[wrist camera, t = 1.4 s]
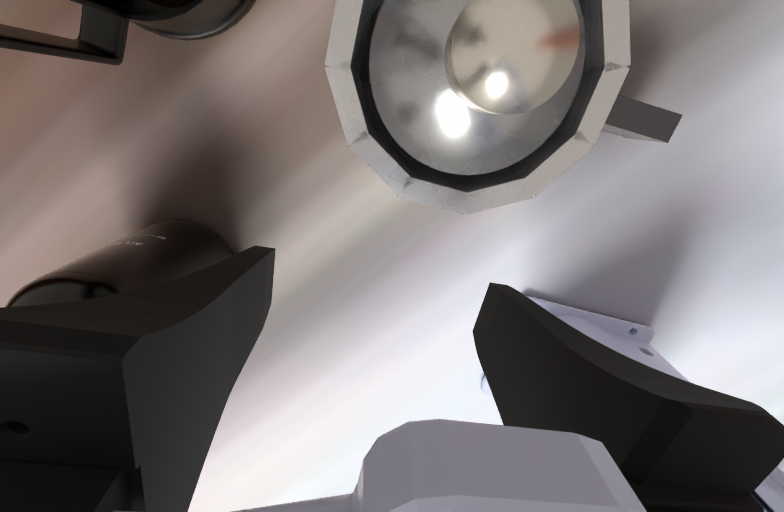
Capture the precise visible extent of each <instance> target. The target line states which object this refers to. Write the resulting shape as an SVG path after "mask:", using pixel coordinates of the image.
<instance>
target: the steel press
mask: <svg viewBox="0 0 784 512" xmlns="http://www.w3.org/2000/svg"><path fill="white" fill-rule="evenodd" d="M384 1H385V0H336V4H335V10H334V16H333V21H332V27H331V32H330V38H329V44H328V49H327V55H326V60H325V65H326V66H328V67H326V68H325V70H326V73H327V77H328V80H329V83H330V87H331V90H332V93H333V97H334V100H335V103H336V107H337V110H338V113H339V117H340V120H341V124H342V127H343V130H344V134H345V137H346V140H347V144H351V143H352V144H351V145H350V146H349V147H350V148H351V149H352V150H353V151H354V152H355V153H356V154H357V155H358V156H359V157H360V158H361V159H362V160H363V161H364V162H365V163H366V164H367V165H368V166H369V167H370V168H371V169H372V170H373V171H374V172H375V173H376V174H377V175H378V176H379V177H380V178H381V179H382V180H383V181H384V182H385V183H386V184H387V185H388V186H389V187H390V188H391V189H392V190H393V191H394V192H395V193H396V194H397V195H398V196H399V195H401V198H405V199H409V200H412V201H416V202H420V203H424V204H427V205H431V206H435V207H438V208H442V209H446V210H450V211H453V212H457V213H461V214H465V213H466V214H470V213H474V212H478V211H482V210H486V209H490V208H494V207H498V206H502V205H506V204H510V203H514V202H518V201H522V200H526V199H530V198H533V195H534V196H537V195H538V194H539V193H540V192H541V191H543V190H544V189H545V188H546V187H547V186H548V185H550V184H551V183H552V182H553V181H554V180H555V179H557V178H558V177H559V176H560V175H561V174H562V173H564V172H565V171H566V170H567V169H568V168H569V167H571V166H572V165H573V164H574V163H575V162H576V161H578V160H579V159H580V158H581V157H582V156H583V155H585V154H586V153H587V152H588V151H589V150H590V149H592V148H593V147H592V145H595V143H596V141H597V139H598V137H599V135H600V132H601V130H603V131H606V132H609V133H613V134H616V135H619V136H622V137H626V138H633V139H641V140H649V141H657V142H665V143H668V142H669V140H670V138H671V136H672V134H673V132H674V130H675V129H676V127H677V125H678V123H679V121H680V119H681V117H682V115H681V114H678V113H675V112H671V111H668V110H665V109H662V108H659V107H655V106H652V105H649V104H646V103H643V102H639V101H636V100H633V99H630V98H627V97H623V96H620V95H618V93H619V91H620V89H621V87H622V84H623V82H624V80H625V78H626V76H627V74H628V71H629V69H630V68H628V67H626V66H629V65H631V60H630V13H629V0H578V2H579V4H580V8H581V12H582V16H583V21H584V29H585V58H584V67H583V71H582V75H581V80H580V84H579V86H578V89H577V92H576V95H575V98H574V100H573V102H572V104H571V106H570V108H569V110H568V112H567V113H566V115H565V117H564V118H563V120H562V121H561V123H560V124H559V126H558V127H557V128H556V129H555V131H554V132H553V133H552V134H551V136H550V137H549V138H548V139H547V140H546V141H545V142H544V143H543V144H542V145H541V146H540V147H538V148H537V149H536V150H535V151H533V152H532V153H531V154H530V155H528V156H526V157H525V158H523V159H522V160H520V161H518V162H517V163H514V164H512V165H510V166H508V167H506V168H503V169H500V170H497V171H494V172H489V173H484V174H477V175H460V174H452V173H447V172H442V171H440V170H437V169H434V168H431V167H429V166H427V165H425V164H423V163H421V162H420V161H418V160H417V159H415V158H414V157H412V156H411V155H410V154H408V153H407V152H406V151H405V150H404V149H403V148H402V147H401V146H400V145H399V144H398V143H397V142H396V140H395V139H394V138H393V137H392V136H391V134H390V133H389V131H388V129H387V128H386V126H385V125H384V123H383V121H382V119H381V117H380V114H379V112H378V110H377V107H376V104H375V101H374V98H373V93H372V88H371V83H370V71H369V59H370V47H371V40H372V34H373V31H374V27H375V24H376V20H377V17H378V15H379V12H380V10H381V8H382V5H383V3H384ZM591 144H592V145H591Z"/></svg>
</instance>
